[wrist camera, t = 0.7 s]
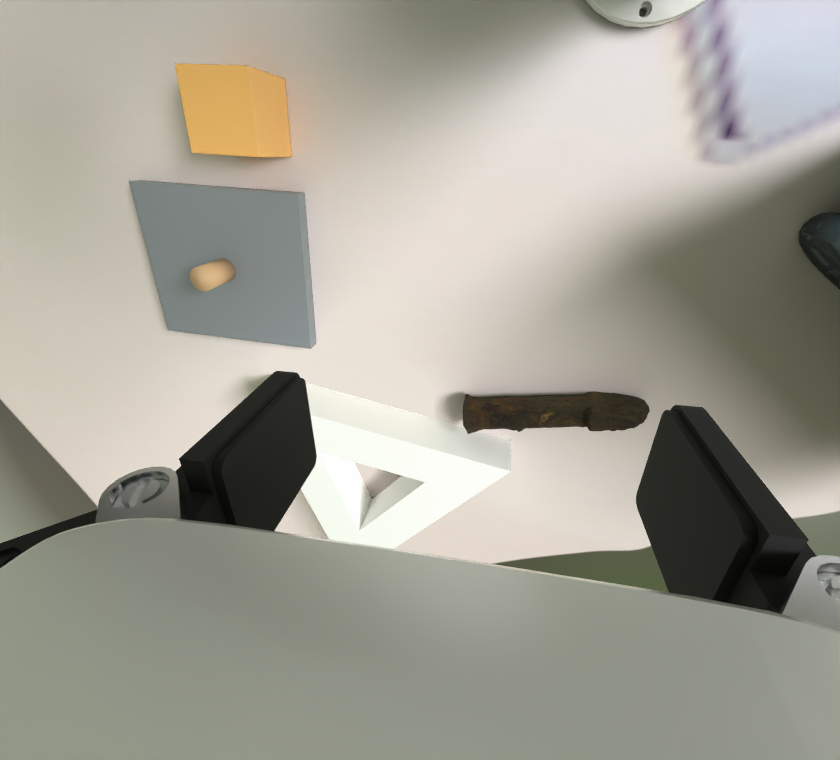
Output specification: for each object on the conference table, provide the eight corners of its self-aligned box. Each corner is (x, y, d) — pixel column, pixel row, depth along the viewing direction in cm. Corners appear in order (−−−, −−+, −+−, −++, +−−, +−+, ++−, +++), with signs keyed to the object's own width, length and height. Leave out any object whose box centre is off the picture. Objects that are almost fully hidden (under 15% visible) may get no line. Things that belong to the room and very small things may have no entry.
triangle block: (510, 436, 50) (510, 471, 44) (458, 569, 63) (453, 608, 57) (276, 371, 52) (248, 397, 46) (272, 513, 65) (251, 546, 59)
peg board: (140, 180, 43) (94, 183, 38) (304, 192, 40) (277, 197, 35) (176, 325, 50) (142, 343, 46) (316, 343, 48) (294, 364, 43)
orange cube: (221, 76, 37) (174, 63, 32) (284, 78, 36) (246, 65, 31) (233, 153, 40) (191, 152, 34) (291, 157, 39) (258, 156, 34)
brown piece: (466, 418, 49) (462, 442, 45) (463, 389, 47) (459, 411, 43) (639, 419, 45) (652, 445, 41) (644, 387, 43) (658, 411, 39)
